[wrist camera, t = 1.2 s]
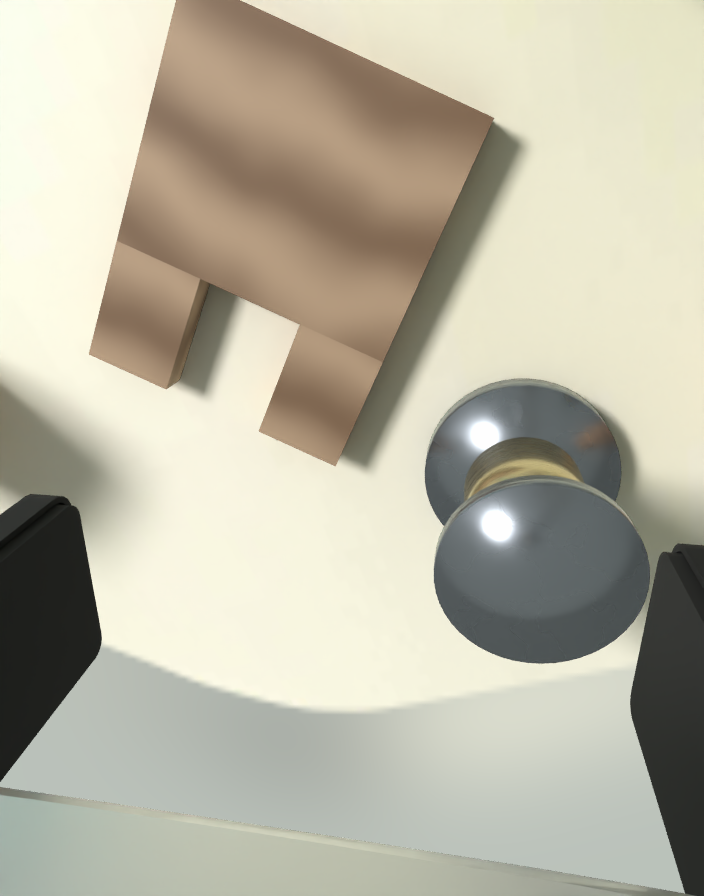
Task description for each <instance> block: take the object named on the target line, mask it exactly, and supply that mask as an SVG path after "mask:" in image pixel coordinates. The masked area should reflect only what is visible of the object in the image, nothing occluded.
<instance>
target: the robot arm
mask: <svg viewBox="0 0 704 896" xmlns="http://www.w3.org/2000/svg"><path fill="white" fill-rule="evenodd" d="M101 640H102V636H101V629H100V623H99V618H98V612H97V607H96V601H95V596H94V590H93V585H92V579H91V574H90V568H89V563H88V557H87V552H86V546H85V541H84V535H83V530H82V524H81V519H80V514H79V511H78V509H77V508H76V507H75V506H71V503H70V502H69V500H68V499H67V498H65V497H63V496H50V495H37V494H30V495H28V496H25V497H24V498H23V499H21V500H20V501H18V502H17V503H16V504H14V505H13V506H12V507H10V508H9V509H7V510H6V511H5V512H3V513H2V514H1V515H0V782H1V780H2V779H3V778H4V776H5V775H6V774H7V772H8V771H9V770H10V768H11V767H12V766H13V764H14V763H15V762H16V761H17V759H18V758H19V757H20V756H21V754H22V753H23V752H24V750H25V749H26V748H27V746H28V745H29V744H30V743H31V741H32V740H33V739H34V737H35V736H36V735H37V733H38V732H39V731H40V730H41V728H42V727H43V726H44V724H45V723H46V722H47V720H48V719H49V718H50V716H51V715H52V714H53V712H54V711H55V710H56V709H57V707H58V706H59V705H60V704H61V702H62V701H63V700H64V698H65V697H66V696H67V694H68V693H69V692H70V691H71V689H72V688H73V687H74V685H75V684H76V683H77V681H78V680H79V679H80V677H81V676H82V675H83V674H84V672H85V671H86V669H87V668H88V667H89V666H90V664H91V663H92V662H93V661H94V659H95V658H96V656H97V655H98V652H99V650H100V646H101ZM630 705H631V715H632V720H633V723H634V727H635V730H636V733H637V736H638V740H639V743H640V746H641V750H642V753H643V756H644V759H645V763H646V766H647V769H648V772H649V776H650V779H651V782H652V786H653V789H654V792H655V795H656V799H657V802H658V805H659V808H660V812H661V815H662V819H663V822H664V825H665V828H666V832H667V835H668V838H669V842H670V845H671V848H672V851H673V854H674V858H675V861H676V864H677V868H678V871H679V874H680V878H681V881H682V884H683V888H684V891H685V894H684V893H678V892H673V891H667V890H662V889H656V888H650V887H645V886H639V885H633V884H627V883H621V882H615V881H609V880H603V879H597V878H591V877H585V876H580V875H574V874H568V873H562V872H556V871H551V870H544V869H538V868H532V867H526V866H520V865H513V864H507V863H500V862H494V861H487V860H481V859H475V858H469V857H462V856H456V855H449V854H443V853H436V852H430V851H424V850H417V849H410V848H404V847H398V846H391V845H385V844H378V843H372V842H366V841H359V840H352V839H346V838H340V837H334V836H327V835H321V834H314V833H307V832H301V831H294V830H288V829H281V828H274V827H268V826H261V825H254V824H248V823H241V822H234V821H228V820H221V819H214V818H208V817H201V816H194V815H188V814H180V813H174V812H168V811H161V810H154V809H147V808H141V807H133V806H127V805H120V804H113V803H107V802H100V801H93V800H87V799H80V798H73V797H66V796H58V795H52V794H45V793H37V792H31V791H23V790H16V789H10V788H2V787H0V896H704V546H703V545H690V544H677V545H676V546H675V547H674V549H673V551H672V553H669V552H663V553H662V554H661V555H660V557H659V560H658V564H657V569H656V574H655V579H654V584H653V589H652V594H651V598H650V603H649V608H648V613H647V618H646V623H645V627H644V632H643V637H642V642H641V647H640V652H639V657H638V661H637V666H636V671H635V676H634V681H633V686H632V691H631V699H630Z"/></svg>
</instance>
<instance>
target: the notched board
mask: <svg viewBox="0 0 704 896" xmlns="http://www.w3.org/2000/svg"><path fill="white" fill-rule="evenodd" d="M493 119H494V118H493V117H491V116H489V115H487V114H484V113H482V112H480V111H478V110H476V109H474V108H471V107H469V106H467V105H465V104H463V103H461V102H458V101H456V100H454V99H452V98H450V97H448V96H446V95H443V94H441V93H439V92H437V91H435V90H433V89H430V88H428V87H426V86H424V85H422V84H420V83H417V82H415V81H413V80H411V79H409V78H407V77H404V76H402V75H400V74H398V73H396V72H394V71H392V70H389V69H387V68H385V67H383V66H381V65H379V64H376V63H374V62H372V61H370V60H368V59H366V58H363V57H361V56H359V55H357V54H355V53H353V52H350V51H348V50H346V49H344V48H342V47H340V46H338V45H335V44H333V43H331V42H329V41H327V40H325V39H322V38H320V37H318V36H316V35H314V34H312V33H309V32H307V31H305V30H303V29H301V28H299V27H296V26H294V25H292V24H290V23H288V22H286V21H284V20H281V19H279V18H277V17H275V16H273V15H271V14H268V13H266V12H264V11H262V10H260V9H258V8H255V7H253V6H251V5H249V4H247V3H245V2H242V1H240V0H176V3H175V7H174V11H173V15H172V19H171V23H170V27H169V31H168V35H167V39H166V43H165V48H164V52H163V56H162V60H161V64H160V68H159V72H158V76H157V80H156V84H155V88H154V92H153V96H152V100H151V104H150V108H149V112H148V117H147V121H146V125H145V129H144V133H143V137H142V141H141V145H140V149H139V153H138V157H137V161H136V165H135V169H134V173H133V177H132V181H131V186H130V190H129V194H128V198H127V202H126V206H125V210H124V214H123V218H122V222H121V226H120V230H119V234H118V238H117V242H116V246H115V250H114V255H113V259H112V263H111V267H110V271H109V275H108V279H107V283H106V287H105V291H104V295H103V299H102V303H101V307H100V311H99V315H98V319H97V324H96V328H95V332H94V336H93V340H92V344H91V348H90V352H89V355H92V356H94V357H96V358H98V359H100V360H103V361H105V362H107V363H109V364H112V365H114V366H116V367H118V368H120V369H123V370H125V371H127V372H129V373H131V374H134V375H136V376H138V377H140V378H142V379H145V380H147V381H149V382H151V383H153V384H156V385H158V386H160V387H162V388H164V389H167V388H169V387H170V386H172V385H173V384H175V383H176V382H177V381H179V380H180V377H181V374H182V371H183V368H184V365H185V362H186V358H187V355H188V352H189V349H190V346H191V343H192V339H193V336H194V333H195V330H196V327H197V324H198V320H199V317H200V314H201V311H202V308H203V305H204V301H205V298H206V295H207V292H208V289H209V286H210V284H213V285H215V286H217V287H219V288H221V289H224V290H226V291H228V292H230V293H232V294H234V295H237V296H239V297H241V298H243V299H245V300H248V301H250V302H252V303H254V304H256V305H259V306H261V307H263V308H265V309H267V310H269V311H272V312H274V313H276V314H278V315H280V316H283V317H285V318H287V319H289V320H291V321H294V322H296V323H298V324H300V326H299V328H298V331H297V334H296V336H295V339H294V341H293V344H292V347H291V349H290V352H289V354H288V357H287V360H286V362H285V365H284V367H283V370H282V372H281V375H280V378H279V380H278V383H277V385H276V388H275V391H274V393H273V396H272V398H271V401H270V403H269V406H268V409H267V411H266V414H265V416H264V419H263V422H262V424H261V427H260V429H259V432H261V433H263V434H266V435H268V436H270V437H272V438H274V439H277V440H279V441H281V442H283V443H285V444H288V445H290V446H292V447H294V448H296V449H299V450H301V451H303V452H305V453H307V454H310V455H312V456H314V457H316V458H318V459H321V460H323V461H325V462H327V463H329V464H332V465H334V466H336V464H337V462H338V460H339V457H340V455H341V453H342V451H343V449H344V447H345V444H346V442H347V440H348V438H349V436H350V433H351V431H352V429H353V427H354V425H355V422H356V420H357V418H358V416H359V414H360V411H361V409H362V407H363V405H364V403H365V400H366V398H367V396H368V394H369V392H370V389H371V387H372V385H373V383H374V381H375V378H376V376H377V374H378V372H379V370H380V367H381V365H382V363H383V361H384V359H385V356H386V354H387V352H388V350H389V348H390V345H391V343H392V341H393V339H394V337H395V335H396V332H397V330H398V328H399V326H400V324H401V321H402V319H403V317H404V315H405V313H406V310H407V308H408V306H409V304H410V302H411V299H412V297H413V295H414V293H415V291H416V288H417V286H418V284H419V282H420V280H421V277H422V275H423V273H424V271H425V269H426V266H427V264H428V262H429V260H430V258H431V255H432V253H433V251H434V249H435V247H436V244H437V242H438V240H439V238H440V236H441V233H442V231H443V229H444V227H445V225H446V223H447V220H448V218H449V216H450V214H451V212H452V209H453V207H454V205H455V203H456V201H457V198H458V196H459V194H460V192H461V190H462V187H463V185H464V183H465V181H466V179H467V176H468V174H469V172H470V170H471V168H472V165H473V163H474V161H475V159H476V157H477V154H478V152H479V150H480V148H481V146H482V143H483V141H484V139H485V137H486V135H487V132H488V130H489V128H490V126H491V124H492V121H493Z"/></svg>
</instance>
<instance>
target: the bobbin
mask: <svg viewBox="0 0 704 896" xmlns="http://www.w3.org/2000/svg"><path fill="white" fill-rule="evenodd" d="M620 480H621V461H620V456H619V451H618V448H617V445H616V443H615V440H614V438H613V436H612V434H611V432H610V431H609V429H608V427H607V425H606V423H605V422H604V420H603V418H602V417H601V416H600V414H599V413H598V412H597V410H596V409H595V408H594V407H593V406H592V405H591V404H590V403H589V402H588V401H586V400H585V399H584V398H582V397H581V396H579V395H578V394H577V393H575V392H573V391H571V390H569V389H567V388H565V387H563V386H560V385H558V384H555V383H551V382H547V381H543V380H536V379H511V380H503V381H499V382H495V383H491V384H488V385H486V386H483V387H481V388H478V389H477V390H475V391H473V392H471V393H469V394H467V395H466V396H465V397H463V398H462V399H461V400H459V401H458V402H457V403H456V404H454V405H453V406H452V407H451V408H450V409H449V410H448V411H447V413H446V414H445V415H444V416H443V418H442V419H441V420H440V422H439V424H438V425H437V427H436V429H435V431H434V433H433V435H432V437H431V440H430V444H429V447H428V452H427V459H426V466H425V484H426V490H427V495H428V498H429V501H430V504H431V506H432V508H433V510H434V512H435V514H436V516H437V517H438V519H439V520H440V522H441V523H442V524H443V525H444V528H443V530H442V532H441V534H440V537H439V540H438V543H437V547H436V554H435V563H434V583H435V589H436V594H437V597H438V600H439V603H440V605H441V607H442V609H443V611H444V613H445V615H446V616H447V618H448V619H449V620H450V622H451V623H452V624H453V625H454V627H455V628H456V629H457V630H458V631H459V632H460V633H461V634H462V635H463V636H465V637H466V638H467V639H468V640H469V641H471V642H472V643H474V644H475V645H477V646H478V647H480V648H482V649H484V650H486V651H488V652H490V653H492V654H495V655H498V656H500V657H503V658H507V659H510V660H514V661H520V662H526V663H557V662H564V661H569V660H573V659H577V658H581V657H583V656H586V655H589V654H591V653H594V652H596V651H598V650H600V649H601V648H603V647H605V646H607V645H608V644H610V643H611V642H613V641H614V640H615V639H617V638H618V637H619V636H620V635H621V634H622V633H624V632H625V631H626V630H627V628H628V627H629V626H630V625H631V624H632V623H633V621H634V620H635V618H636V617H637V615H638V614H639V612H640V610H641V608H642V606H643V604H644V602H645V599H646V596H647V592H648V588H649V581H650V567H649V561H648V556H647V552H646V550H645V547H644V544H643V542H642V540H641V538H640V536H639V533H638V531H637V529H636V528H635V526H634V524H633V522H632V521H631V519H630V518H629V516H628V515H627V514H626V513H625V511H624V510H623V509H622V508H621V507H620V506H619V505H618V504H617V503H616V502H615V500H616V498H617V495H618V491H619V487H620Z"/></svg>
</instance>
